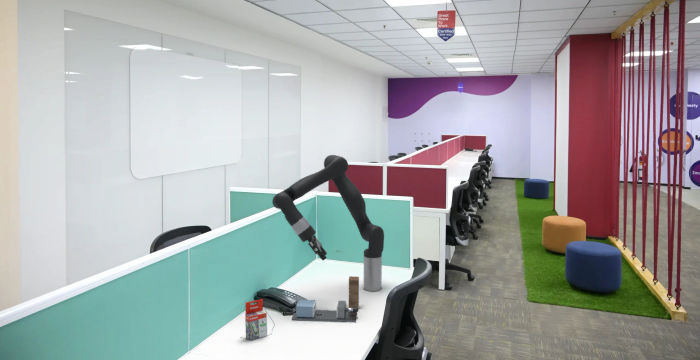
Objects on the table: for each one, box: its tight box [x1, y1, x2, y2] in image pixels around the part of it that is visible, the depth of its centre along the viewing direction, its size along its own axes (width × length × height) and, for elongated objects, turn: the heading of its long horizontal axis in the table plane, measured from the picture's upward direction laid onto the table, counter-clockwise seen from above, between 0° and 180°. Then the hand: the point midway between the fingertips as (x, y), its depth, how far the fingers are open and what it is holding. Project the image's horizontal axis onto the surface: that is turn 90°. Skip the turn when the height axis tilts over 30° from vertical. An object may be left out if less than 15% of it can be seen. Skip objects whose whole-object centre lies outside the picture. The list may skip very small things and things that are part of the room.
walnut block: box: [348, 275, 360, 309], centre depth 231 cm, size 4×4×14 cm
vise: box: [291, 300, 359, 323], centre depth 221 cm, size 10×29×6 cm, turn 86°
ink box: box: [244, 298, 268, 341], centre depth 200 cm, size 4×8×15 cm, turn 124°
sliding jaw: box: [295, 299, 317, 317], centre depth 221 cm, size 8×8×5 cm
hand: (325, 257), depth 229 cm, fingers open, 8 cm apart
